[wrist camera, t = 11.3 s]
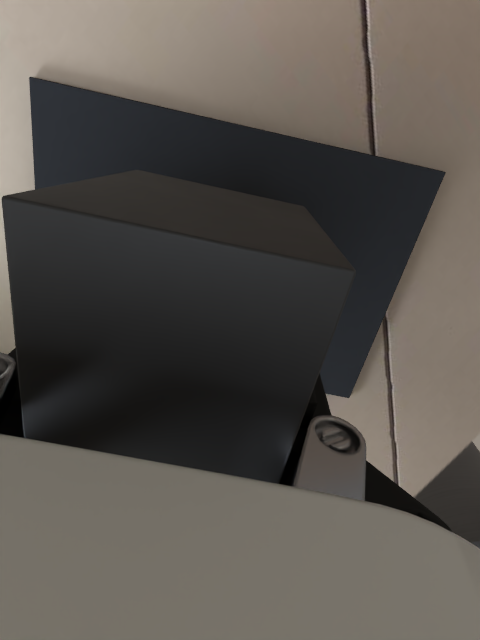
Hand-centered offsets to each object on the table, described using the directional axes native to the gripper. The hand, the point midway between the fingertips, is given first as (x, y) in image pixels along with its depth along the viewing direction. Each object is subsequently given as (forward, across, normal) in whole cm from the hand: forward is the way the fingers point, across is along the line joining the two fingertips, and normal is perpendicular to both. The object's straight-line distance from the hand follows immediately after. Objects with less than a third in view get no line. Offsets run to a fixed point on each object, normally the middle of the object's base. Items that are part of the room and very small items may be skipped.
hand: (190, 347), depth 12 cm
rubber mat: (+9, 0, 0) cm, 9 cm away
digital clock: (+1, 0, 0) cm, 1 cm away
